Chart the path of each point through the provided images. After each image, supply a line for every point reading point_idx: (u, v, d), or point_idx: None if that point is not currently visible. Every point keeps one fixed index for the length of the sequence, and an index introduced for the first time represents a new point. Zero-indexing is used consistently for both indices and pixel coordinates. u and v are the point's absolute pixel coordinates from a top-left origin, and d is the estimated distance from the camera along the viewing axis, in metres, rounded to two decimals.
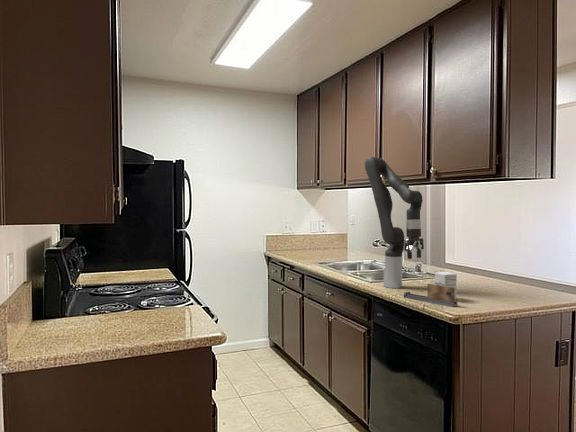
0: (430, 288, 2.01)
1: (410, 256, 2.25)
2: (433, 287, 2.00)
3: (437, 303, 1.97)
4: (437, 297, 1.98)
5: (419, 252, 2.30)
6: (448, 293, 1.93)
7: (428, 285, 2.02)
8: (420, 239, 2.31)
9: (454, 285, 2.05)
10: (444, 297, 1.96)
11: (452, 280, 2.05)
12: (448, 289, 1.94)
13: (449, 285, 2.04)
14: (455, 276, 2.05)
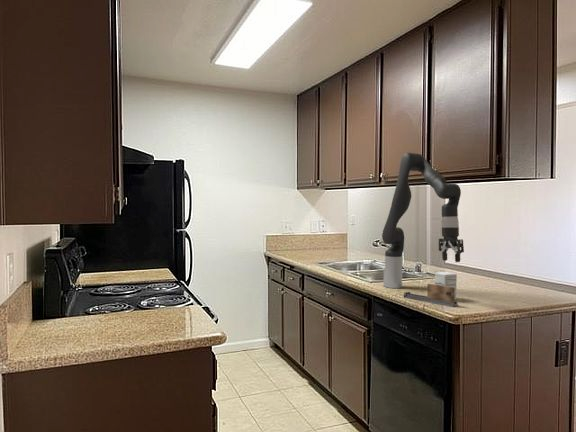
0: (430, 288, 2.01)
1: None
2: (433, 287, 2.00)
3: (437, 303, 1.97)
4: (437, 297, 1.98)
5: (446, 254, 2.03)
6: (448, 293, 1.93)
7: (428, 285, 2.02)
8: None
9: (454, 285, 2.05)
10: (444, 297, 1.96)
11: (452, 280, 2.05)
12: (448, 289, 1.94)
13: (449, 285, 2.04)
14: (455, 276, 2.05)
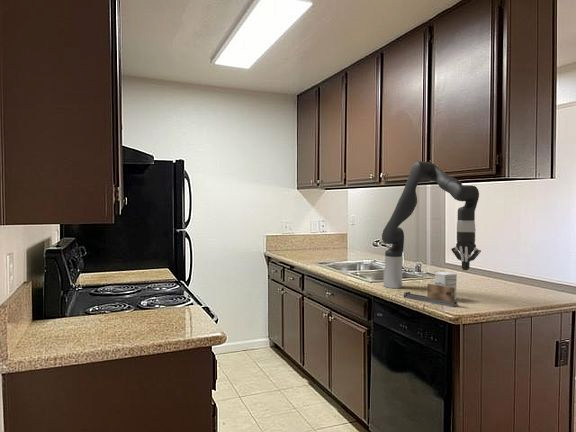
0: (430, 288, 2.01)
1: None
2: (433, 287, 2.00)
3: (437, 303, 1.97)
4: (437, 297, 1.98)
5: None
6: (448, 293, 1.93)
7: (428, 285, 2.02)
8: None
9: (454, 285, 2.05)
10: (444, 297, 1.96)
11: (452, 280, 2.05)
12: (448, 289, 1.94)
13: (449, 285, 2.04)
14: (455, 276, 2.05)
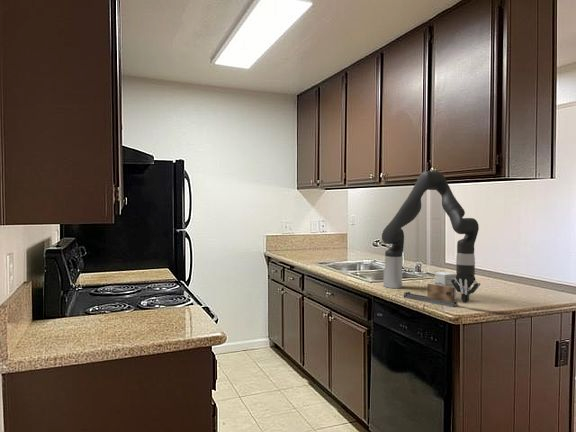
0: (430, 288, 2.01)
1: None
2: (433, 287, 2.00)
3: (437, 303, 1.97)
4: (437, 297, 1.98)
5: None
6: (448, 293, 1.93)
7: (428, 285, 2.02)
8: None
9: None
10: (444, 297, 1.96)
11: None
12: (448, 289, 1.94)
13: (449, 285, 2.04)
14: (455, 276, 2.05)
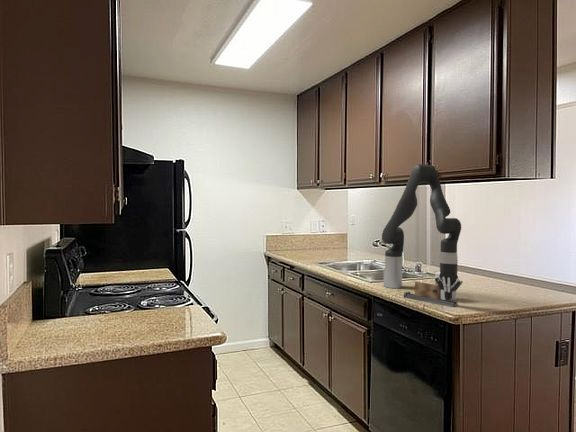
0: (417, 286, 2.06)
1: None
2: (420, 285, 2.05)
3: (437, 303, 1.97)
4: (424, 295, 2.04)
5: None
6: (434, 291, 1.98)
7: (415, 283, 2.07)
8: None
9: (454, 285, 2.05)
10: (431, 295, 2.01)
11: None
12: (434, 287, 1.99)
13: None
14: None
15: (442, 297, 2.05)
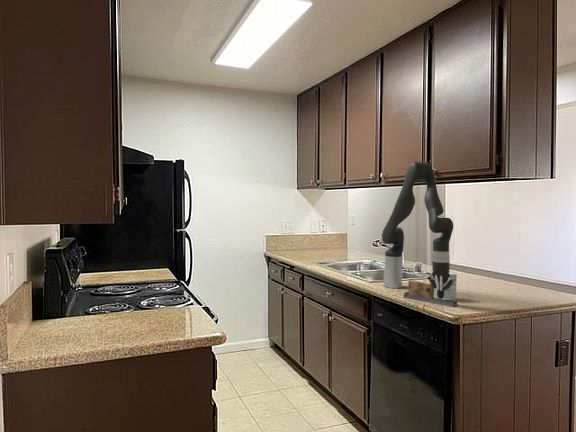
0: (411, 285, 2.09)
1: None
2: (414, 284, 2.08)
3: (437, 303, 1.97)
4: (417, 293, 2.06)
5: None
6: (427, 290, 2.01)
7: (409, 282, 2.10)
8: None
9: (454, 285, 2.05)
10: (424, 293, 2.04)
11: None
12: (428, 286, 2.02)
13: None
14: (455, 276, 2.05)
15: None
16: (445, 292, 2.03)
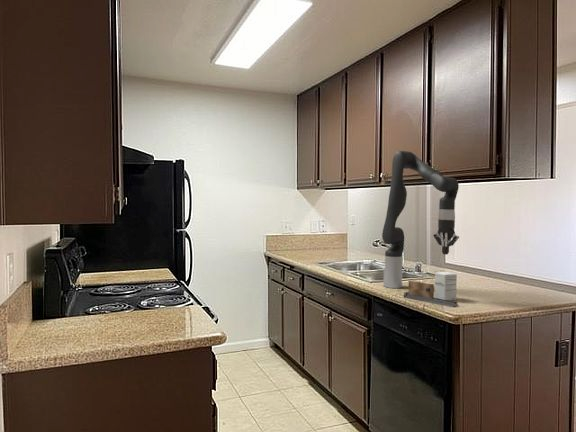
0: (411, 285, 2.09)
1: None
2: (414, 284, 2.08)
3: (437, 303, 1.97)
4: (417, 293, 2.06)
5: None
6: (427, 290, 2.01)
7: (409, 282, 2.10)
8: None
9: (454, 285, 2.05)
10: (424, 293, 2.04)
11: (452, 280, 2.05)
12: (428, 286, 2.02)
13: (449, 285, 2.04)
14: (455, 276, 2.05)
15: (442, 297, 2.05)
16: (445, 292, 2.03)
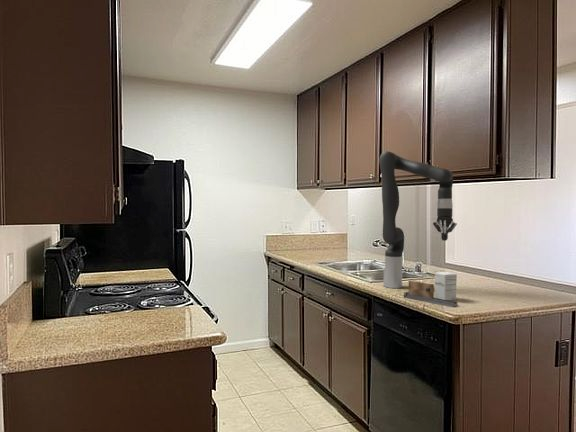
0: (411, 285, 2.09)
1: None
2: (414, 284, 2.08)
3: (437, 303, 1.97)
4: (417, 293, 2.06)
5: None
6: (427, 290, 2.01)
7: (409, 282, 2.10)
8: None
9: (454, 285, 2.05)
10: (424, 293, 2.04)
11: (452, 280, 2.05)
12: (428, 286, 2.02)
13: (449, 285, 2.04)
14: (455, 276, 2.05)
15: (442, 297, 2.05)
16: (445, 292, 2.03)
